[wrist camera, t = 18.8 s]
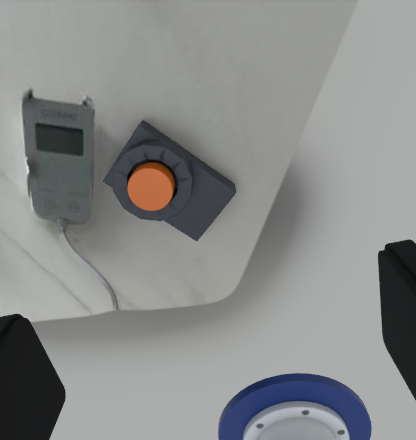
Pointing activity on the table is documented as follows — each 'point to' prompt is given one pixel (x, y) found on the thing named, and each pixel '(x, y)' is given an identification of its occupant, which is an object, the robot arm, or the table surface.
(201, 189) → the button switch box
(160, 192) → the power button
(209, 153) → the table surface
